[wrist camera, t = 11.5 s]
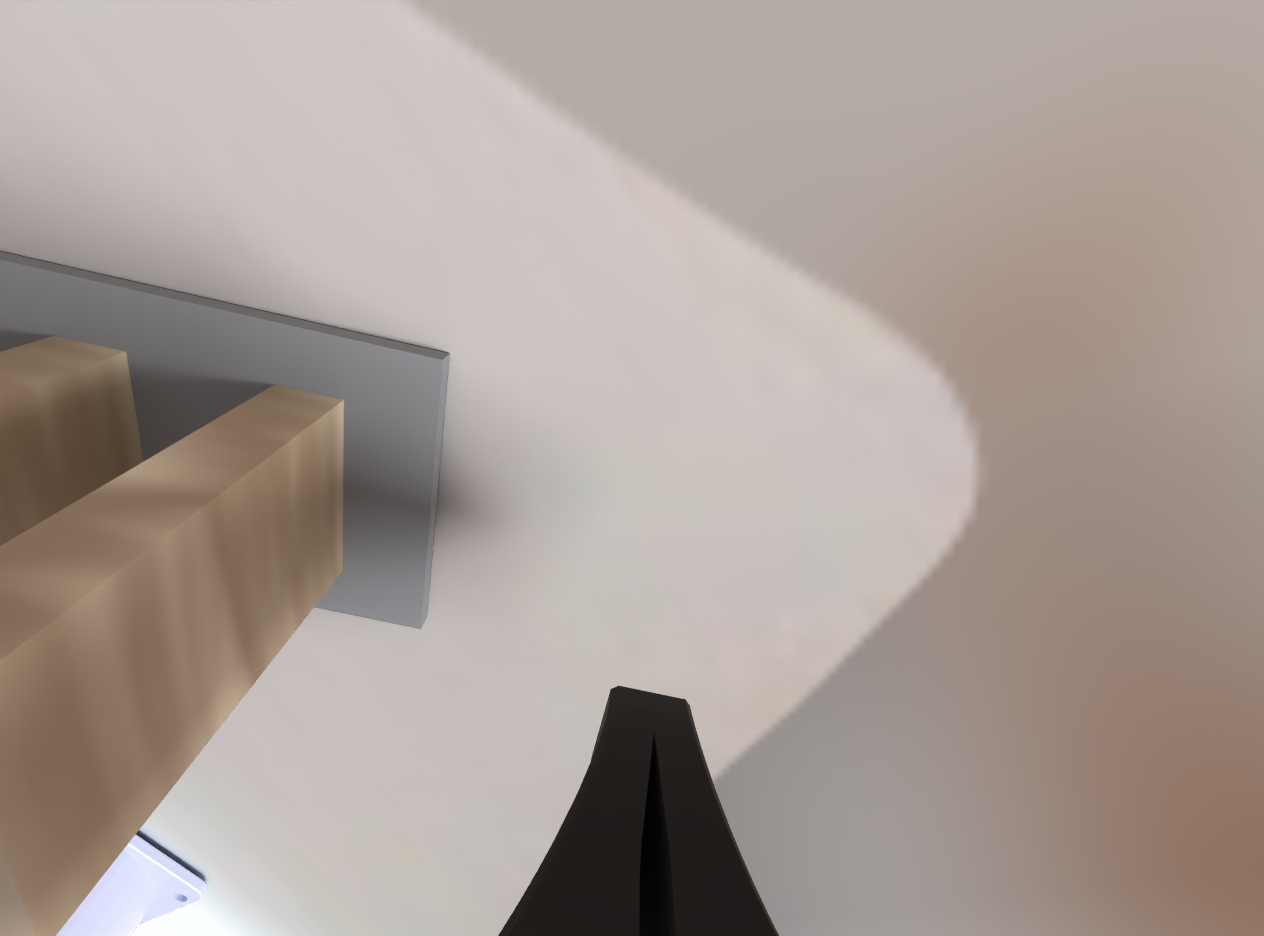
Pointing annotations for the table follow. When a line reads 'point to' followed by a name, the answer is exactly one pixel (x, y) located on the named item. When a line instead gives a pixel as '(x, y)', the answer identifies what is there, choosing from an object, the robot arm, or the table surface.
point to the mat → (249, 364)
